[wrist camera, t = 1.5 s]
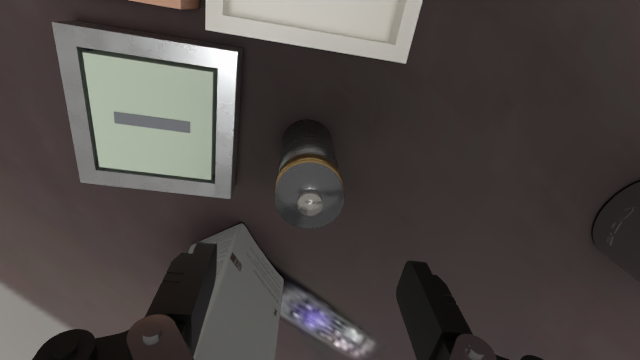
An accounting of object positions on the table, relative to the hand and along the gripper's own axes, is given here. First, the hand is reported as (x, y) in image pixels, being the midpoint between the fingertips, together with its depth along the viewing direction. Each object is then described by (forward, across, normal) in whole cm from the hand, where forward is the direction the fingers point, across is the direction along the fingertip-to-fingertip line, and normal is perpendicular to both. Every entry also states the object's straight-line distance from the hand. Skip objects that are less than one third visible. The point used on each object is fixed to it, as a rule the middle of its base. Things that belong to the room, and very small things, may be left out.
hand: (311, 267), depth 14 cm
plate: (+14, +11, -1) cm, 18 cm away
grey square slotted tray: (+15, +11, -1) cm, 18 cm away
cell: (+15, 0, 0) cm, 15 cm away
